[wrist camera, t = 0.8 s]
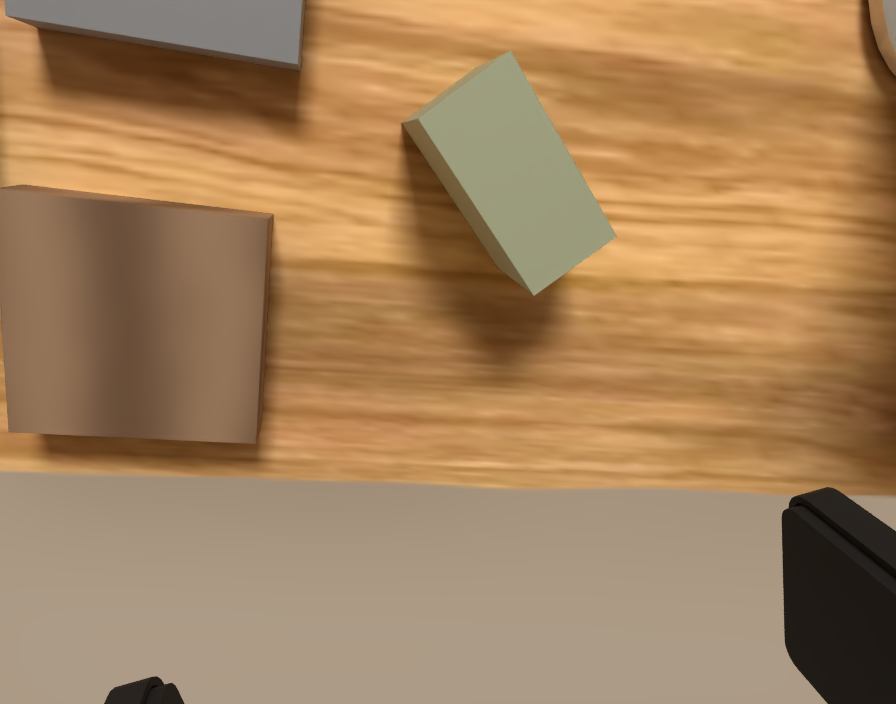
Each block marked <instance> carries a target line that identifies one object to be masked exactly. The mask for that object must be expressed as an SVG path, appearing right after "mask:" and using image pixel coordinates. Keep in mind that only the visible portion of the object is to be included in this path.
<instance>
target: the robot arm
mask: <svg viewBox="0 0 896 704" xmlns="http://www.w3.org/2000/svg"><path fill="white" fill-rule="evenodd" d="M868 1H869V10H870V19H871V25H872V29H873V32H874V35H875V39H876V42H877V45H878V49H879V51H880V52H881V54H882V56H883V58H884V60H885V62H886V64H887V65H888V67H889V69H890V70H891V71H892V73H893V74H894V75H895V76H896V0H868ZM782 546H783V547H782V548H783V585H784V586H783V588H784V628H785V645H786V648H787V651H788V654H789V656H790V658H791V660H792V661H793V663H794V665H795V666H796V667H797V669H798V670H799V671H800V672H801V673H802V674H803V675H804V677H805V678H806V679H807V680H808V681H809V682H810V684H811V685H812V686H813V687H814V688H815V689H816V691H817V692H818V693H819V694H820V695H821V696H822V698H823V699H824V700H825V701H826V702H827V703H828V704H896V531H895V530H893V529H892V528H890V527H889V526H887V525H886V524H885V523H883V522H882V521H880V520H879V519H878V518H876V517H875V516H873V515H872V514H871V513H869V512H868V511H866V510H865V509H864V508H862V507H861V506H859V505H858V504H856V503H855V502H854V501H852V500H851V499H849V498H848V497H847V496H845V495H844V494H842V493H841V492H839V491H838V490H836V489H834V488H829V487H826V488H823V489H819V490H816V491H812V492H809V493H805V494H802V495H798V496H795V497H793V498H792V499H791V501H790V502H789V508H788V509H786V510H784V511H783V513H782ZM104 704H184V702H183V700H182V698H181V696H180V694H179V691H178V689H177V688H176V686H175V685H174V684H173V683H169V684H165V685H164V683H163V682H162V680H161V679H160V678H158V677H150V678H147V679H143V680H140V681H136V682H133V683H129V684H126V685H122V686H118V687H115V688H114V689H113V690H111V691H110V693H109V695H108V697H107V699H106V701H105V703H104Z"/></svg>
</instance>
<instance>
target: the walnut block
mask: <svg viewBox="0 0 896 704" xmlns="http://www.w3.org/2000/svg"><path fill="white" fill-rule="evenodd" d="M272 228H273V214H270V213H262V212H253V211H245V210H236V209H228V208H219V207H210V206H202V205H193V204H185V203H176V202H168V201H159V200H150V199H142V198H133V197H125V196H116V195H108V194H99V193H90V192H82V191H73V190H65V189H56V188H48V187H39V186H31V185H17V186H9V187H2V188H0V308H1V323H2V338H3V353H4V368H5V383H6V398H7V414H8V429H9V432H14V433H35V434H57V435H78V436H99V437H121V438H142V439H163V440H184V441H206V442H227V443H248V444H256V441H257V437H258V433H259V430H260V426H261V422H262V408H263V390H264V372H265V354H266V336H267V318H268V300H269V282H270V264H271V246H272Z"/></svg>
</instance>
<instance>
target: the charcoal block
mask: <svg viewBox="0 0 896 704" xmlns="http://www.w3.org/2000/svg"><path fill="white" fill-rule="evenodd" d="M305 1H306V0H5V14H6V16H8V17H11V18H14V19H16V20H19V21H21V22H24V23H26V24H29V25H32V26H34V27H37V28H42V29H48V30H54V31H60V32H66V33H72V34H78V35H84V36H90V37H96V38H102V39H108V40H114V41H121V42H127V43H133V44H139V45H145V46H151V47H157V48H163V49H169V50H175V51H181V52H187V53H193V54H199V55H205V56H211V57H217V58H223V59H229V60H235V61H241V62H247V63H253V64H259V65H265V66H272V67H278V68H284V69H290V70H296V71H301V60H302V45H303V31H304V16H305Z"/></svg>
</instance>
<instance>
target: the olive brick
mask: <svg viewBox="0 0 896 704" xmlns="http://www.w3.org/2000/svg"><path fill="white" fill-rule="evenodd" d="M402 125H403V126H404V128H405V129H406V131H407V132H408V134H409V135H410V137H411V138H412V140H413V141H414V143H415V144H416V146H417V147H418V149H419V150H420V152H421V153H422V155H423V156H424V158H425V159H426V161H427V162H428V164H429V165H430V167H431V168H432V170H433V171H434V173H435V174H436V176H437V177H438V179H439V180H440V182H441V183H442V185H443V186H444V188H445V189H446V191H447V192H448V194H449V195H450V197H451V198H452V200H453V201H454V203H455V204H456V206H457V207H458V209H459V210H460V212H461V213H462V215H463V216H464V218H465V219H466V221H467V222H468V224H469V225H470V227H471V228H472V230H473V231H474V233H475V234H476V236H477V237H478V239H479V240H480V242H481V243H482V245H483V246H484V248H485V249H486V251H487V252H488V254H489V255H490V257H491V258H492V260H493V261H494V263H495V264H496V266H497V267H498V269H500V270H501V271H502V272H504V273H505V274H506V275H508V276H509V277H510V278H511V279H513V280H514V281H515V282H517V283H518V284H519V285H521V286H522V287H523V288H524V289H526V290H527V291H528V292H530V293H531V294H532V295H533V296H534V295H536V294H537V293H539V292H540V291H541V290H543V289H544V288H546V287H547V286H548V285H550V284H551V283H553V282H554V281H555V280H557V279H558V278H560V277H561V276H562V275H564V274H565V273H567V272H568V271H569V270H571V269H572V268H574V267H575V266H576V265H578V264H579V263H581V262H582V261H583V260H585V259H586V258H588V257H589V256H590V255H592V254H593V253H595V252H596V251H597V250H599V249H600V248H602V247H603V246H604V245H606V244H607V243H608V242H610V241H611V240H613V239H614V238H615V237H617V236H616V234H615V232H614V230H613V229H612V227H611V225H610V223H609V222H608V220H607V218H606V216H605V215H604V213H603V211H602V209H601V208H600V206H599V204H598V202H597V201H596V199H595V197H594V195H593V194H592V192H591V190H590V189H589V187H588V185H587V183H586V182H585V180H584V178H583V176H582V175H581V173H580V171H579V169H578V168H577V166H576V164H575V162H574V161H573V159H572V157H571V155H570V154H569V152H568V150H567V148H566V147H565V145H564V143H563V141H562V140H561V138H560V136H559V134H558V133H557V131H556V129H555V127H554V126H553V124H552V122H551V120H550V119H549V117H548V115H547V113H546V112H545V110H544V108H543V106H542V105H541V103H540V101H539V99H538V98H537V96H536V94H535V92H534V91H533V89H532V87H531V85H530V84H529V82H528V80H527V78H526V77H525V75H524V73H523V71H522V70H521V68H520V66H519V64H518V63H517V61H516V59H515V58H514V56H513V54H512V52H511V51H509V52H507V53H505V54H503V55H501V56H499V57H497V58H495V59H493V60H491V61H489V62H487V63H485V64H483V65H481V66H479V67H477V68H475V69H474V70H472V71H471V72H469V73H468V74H467V75H465V76H464V77H463V78H461V79H460V80H459V81H457V82H456V83H455V84H453V85H452V86H451V87H449V88H448V89H446V90H445V91H444V92H442V93H441V94H440V95H438V96H437V97H436V98H434V99H433V100H432V101H430V102H429V103H428V104H426V105H425V106H423V107H422V108H421V109H419V110H418V111H417V112H415V113H414V114H413V115H411V116H410V117H409V118H407V119H406V120H405V121H403V122H402Z"/></svg>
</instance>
